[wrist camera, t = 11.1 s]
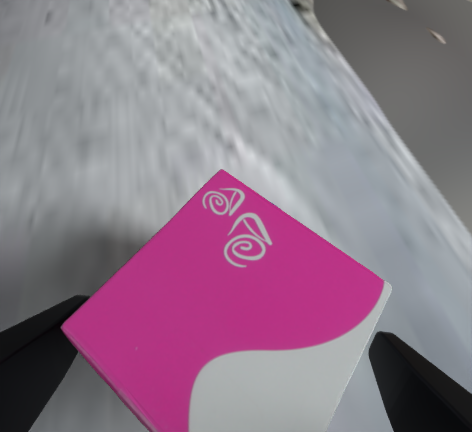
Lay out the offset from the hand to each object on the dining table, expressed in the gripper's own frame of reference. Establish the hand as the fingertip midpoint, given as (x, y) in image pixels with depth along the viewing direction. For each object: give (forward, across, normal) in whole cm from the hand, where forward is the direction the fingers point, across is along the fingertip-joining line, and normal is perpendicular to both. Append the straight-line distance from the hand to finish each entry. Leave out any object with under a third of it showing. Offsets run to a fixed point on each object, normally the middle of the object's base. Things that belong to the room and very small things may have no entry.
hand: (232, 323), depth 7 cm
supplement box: (+7, 0, +6) cm, 9 cm away
